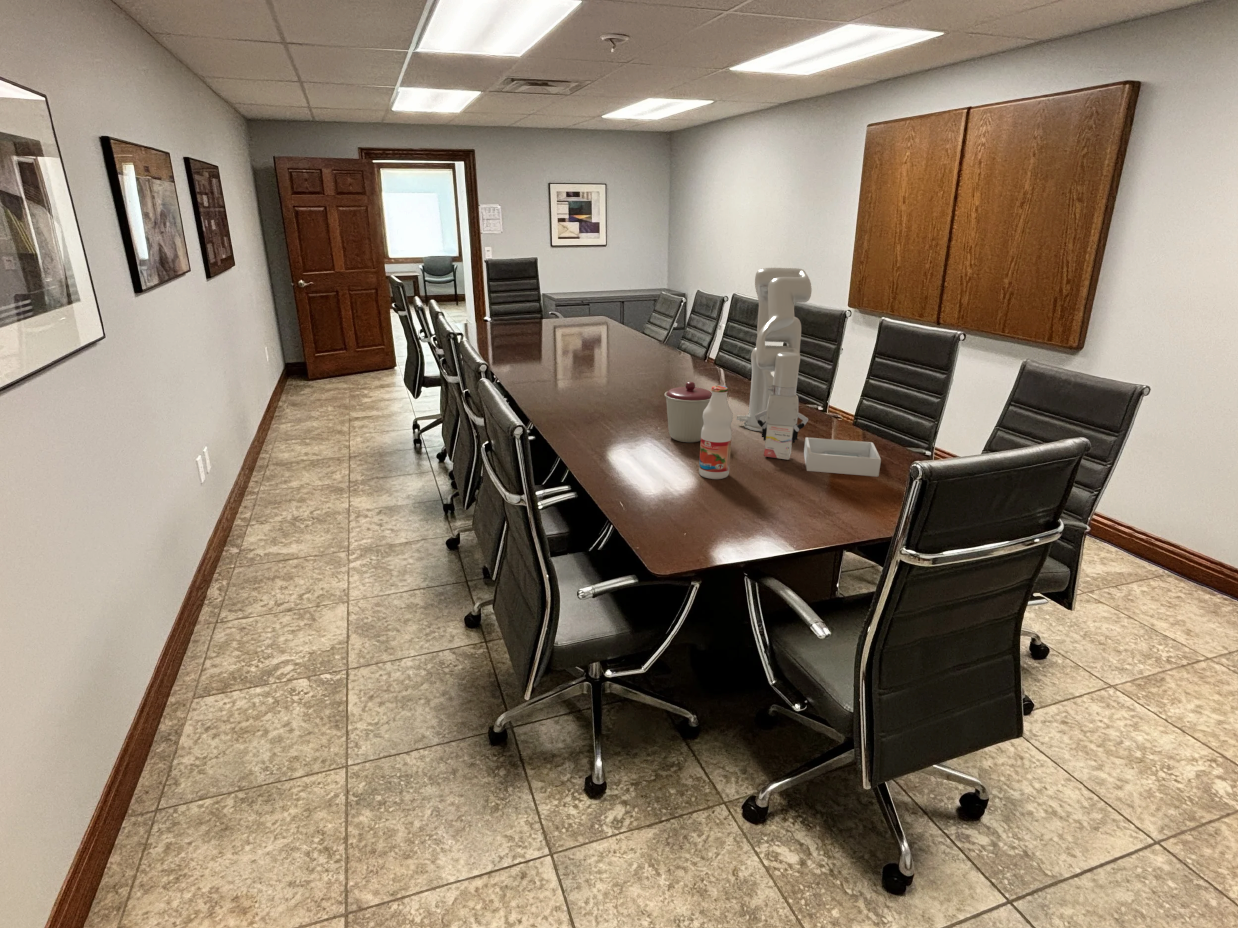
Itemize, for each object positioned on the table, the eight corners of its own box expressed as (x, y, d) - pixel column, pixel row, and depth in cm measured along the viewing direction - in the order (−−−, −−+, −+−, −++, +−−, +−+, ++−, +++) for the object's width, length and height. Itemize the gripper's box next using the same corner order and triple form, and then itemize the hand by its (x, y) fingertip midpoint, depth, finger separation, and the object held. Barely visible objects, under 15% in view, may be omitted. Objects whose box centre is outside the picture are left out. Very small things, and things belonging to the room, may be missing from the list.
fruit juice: (734, 475, 217) (742, 387, 207) (715, 482, 211) (722, 392, 201) (711, 467, 223) (717, 382, 214) (692, 473, 217) (697, 386, 208)
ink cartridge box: (763, 456, 233) (767, 415, 227) (765, 452, 237) (769, 410, 232) (789, 460, 230) (794, 417, 225) (790, 455, 234) (795, 413, 229)
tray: (806, 470, 222) (808, 453, 220) (803, 453, 238) (805, 437, 237) (878, 476, 218) (881, 459, 216) (870, 458, 235) (872, 442, 233)
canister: (718, 435, 256) (722, 379, 249) (703, 449, 241) (706, 389, 234) (672, 429, 264) (675, 374, 257) (655, 441, 248) (657, 384, 241)
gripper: (757, 391, 223) (752, 442, 229) (812, 395, 220) (806, 446, 226) (757, 386, 230) (752, 435, 236) (810, 389, 227) (804, 439, 233)
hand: (778, 440), depth 231 cm, fingers closed on ink cartridge box, 9 cm apart
